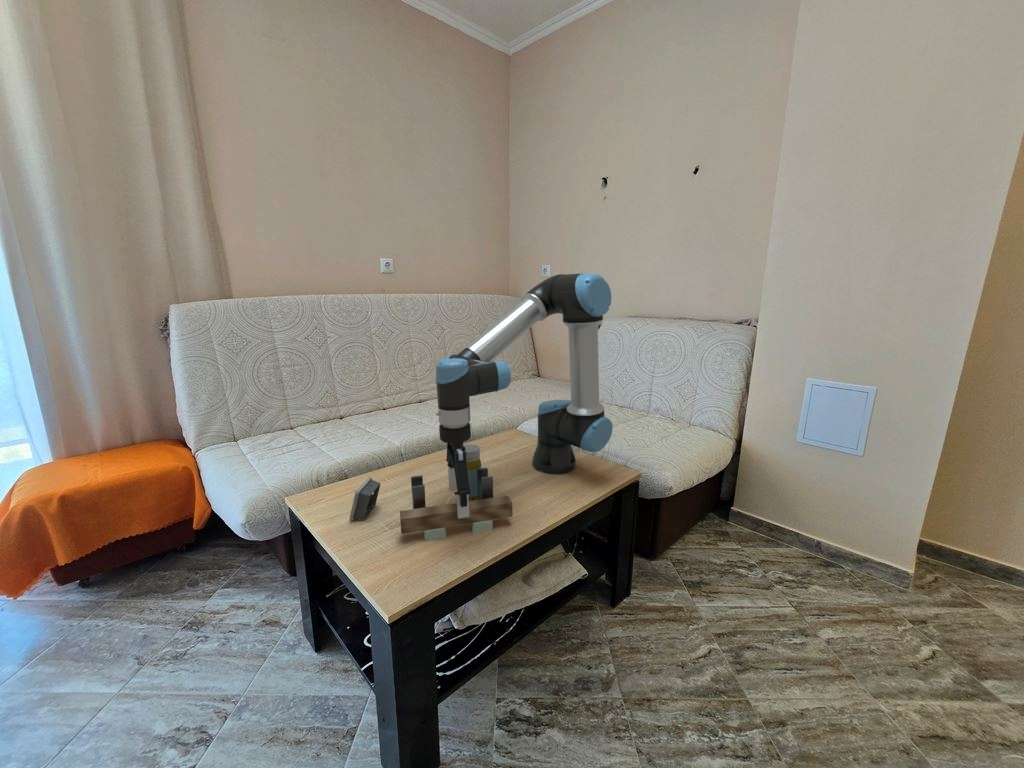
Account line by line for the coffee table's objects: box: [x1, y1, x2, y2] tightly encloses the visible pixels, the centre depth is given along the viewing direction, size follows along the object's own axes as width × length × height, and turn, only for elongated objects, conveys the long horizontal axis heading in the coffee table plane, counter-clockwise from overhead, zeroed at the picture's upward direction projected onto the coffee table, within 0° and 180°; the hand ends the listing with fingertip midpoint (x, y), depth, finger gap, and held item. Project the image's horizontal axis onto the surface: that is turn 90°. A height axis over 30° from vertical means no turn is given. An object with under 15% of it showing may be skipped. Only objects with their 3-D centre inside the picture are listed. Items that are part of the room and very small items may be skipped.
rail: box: [399, 495, 514, 535], centre depth 106 cm, size 28×4×4 cm, turn 107°
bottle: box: [463, 444, 482, 501], centre depth 123 cm, size 7×7×15 cm
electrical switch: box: [349, 476, 381, 522], centre depth 114 cm, size 9×5×9 cm, turn 176°
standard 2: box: [476, 467, 494, 500], centre depth 115 cm, size 5×8×11 cm, turn 17°
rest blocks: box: [423, 520, 494, 542], centre depth 106 cm, size 17×5×2 cm, turn 107°
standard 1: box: [410, 474, 427, 509], centre depth 110 cm, size 5×8×11 cm, turn 17°
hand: (458, 503), depth 105 cm, fingers open, 13 cm apart
